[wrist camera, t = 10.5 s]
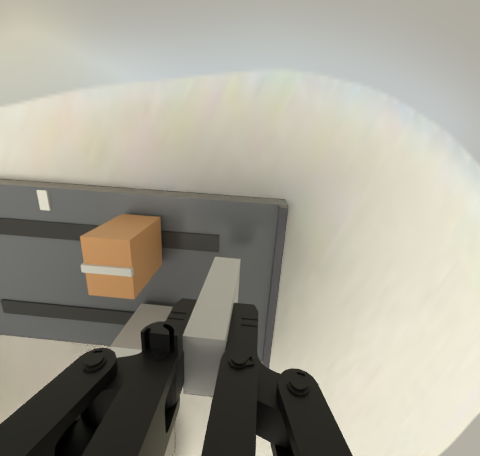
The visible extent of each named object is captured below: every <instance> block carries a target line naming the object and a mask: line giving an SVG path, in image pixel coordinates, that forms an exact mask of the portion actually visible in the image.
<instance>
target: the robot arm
mask: <svg viewBox="0 0 480 456" xmlns="http://www.w3.org/2000/svg"><path fill="white" fill-rule="evenodd" d="M240 260H241V259H236V258H224V257H215V258H214V261H213V263H212V266H211V268H210V270H209V273H208V275H207V278H206V280H205V283H204V285H203V287H202V290H201V292H200V295H199V297H198V300H196V299H186V298H182V299H180V300H179V301H178V302H177V303H175V304H174V306H173V308H172V310H171V313H169V315H168V317H167V319H166V321H158V322H155V323H151V324H149V325H148V326H146V327H144V328H143V330H142V331H141V332H140V333H141V345H142V351H141V353H139V354H136V355H131V356H125V357H118V358H117V357H116V354H115V352H114V351H112V350H111V349H107V348H99V349H94V350H91V351H89V352H87V353H85V354H83V355H82V356H80V357H79V358H78V359H77V360H76V361H74V362H73V363H72V364H71V365H70V366H69V367H67V368H66V369H65V370H64V371H63V372H61V373H60V374H59V375H58V376H57V377H56V378H54V379H53V380H52V381H51V382H50V383H48V384H47V385H46V386H45V387H44V388H43V389H41V390H40V391H39V392H38V393H37V394H35V395H34V396H33V397H32V398H31V399H30V400H28V401H27V402H26V403H25V404H24V405H22V406H21V407H20V408H19V409H18V410H17V411H15V412H14V413H13V414H12V415H11V416H9V417H8V418H7V419H6V420H5V421H4V422H2V423H1V424H0V456H164V455H165V452H166V449H167V446H168V442H169V439H170V436H171V433H172V430H173V426H174V423H175V420H176V417H177V413H178V410H179V405H180V393H181V390H182V387H183V390H184V394H193V395H201V396H209V397H213V400H212V405H211V410H210V415H209V420H208V425H207V430H206V435H205V440H204V445H203V450H202V455H201V456H255V451H256V435H258V436H260V437H262V438H263V439H265V440H267V441H269V442H270V443H271V448H272V452H273V456H352V454H351V452H350V449H349V447H348V445H347V443H346V441H345V439H344V437H343V435H342V433H341V431H340V429H339V427H338V425H337V423H336V421H335V419H334V416H333V414H332V412H331V410H330V408H329V406H328V404H327V402H326V400H325V398H324V396H323V394H322V392H321V390H320V388H319V386H318V384H317V382H316V381H315V379H314V378H313V377H312V376H311V375H310V374H308V373H307V372H305V371H302V370H300V369H288V370H285V371H283V372H282V373H281V374H279V373H277V372H274V371H272V370H270V369H268V368H267V367H265V366H264V365H263V364H262V363H261V361H260V360H259V357H258V353H257V347H258V310H257V308H256V307H255V305H254V304H243V303H237V302H238V291H239V275H240Z"/></svg>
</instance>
